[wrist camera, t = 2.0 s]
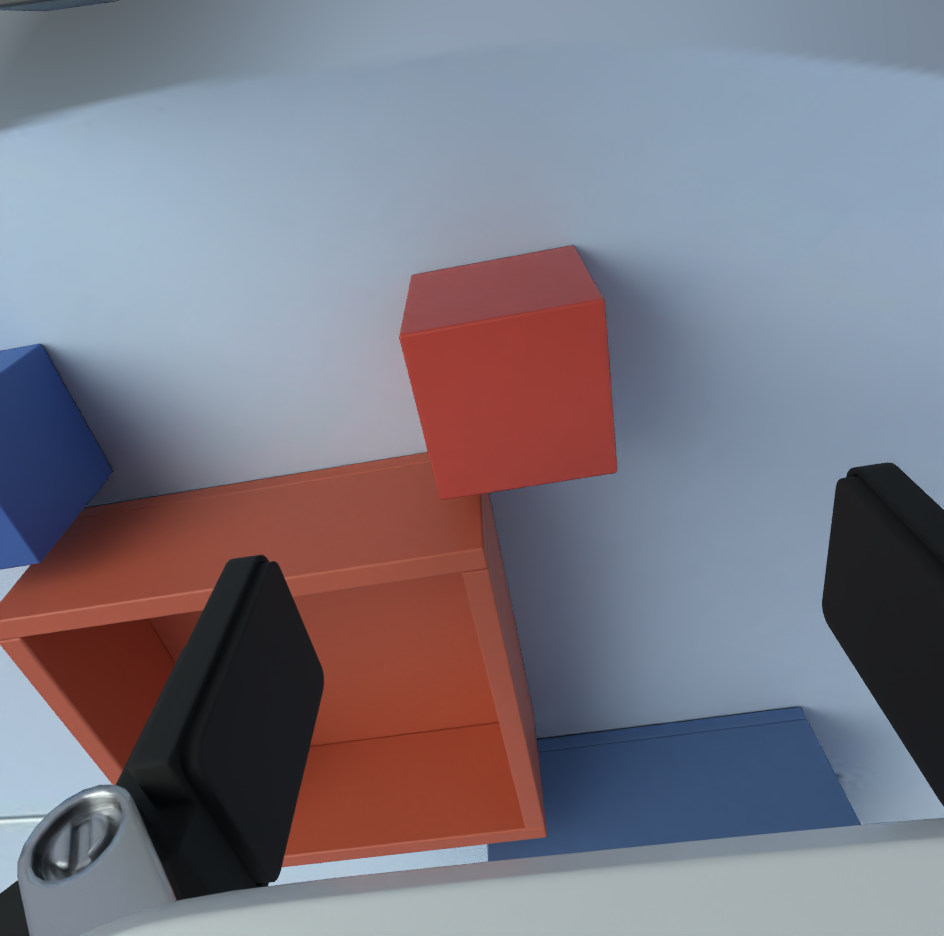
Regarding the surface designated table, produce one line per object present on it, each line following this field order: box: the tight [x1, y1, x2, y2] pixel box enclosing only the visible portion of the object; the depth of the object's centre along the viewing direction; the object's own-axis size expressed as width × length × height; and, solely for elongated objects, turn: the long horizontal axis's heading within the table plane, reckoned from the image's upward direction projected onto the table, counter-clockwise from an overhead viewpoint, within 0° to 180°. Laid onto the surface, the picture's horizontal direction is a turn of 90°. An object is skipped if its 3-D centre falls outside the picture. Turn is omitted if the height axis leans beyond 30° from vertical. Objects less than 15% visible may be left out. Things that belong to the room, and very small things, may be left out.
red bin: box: [0, 452, 547, 867], centre depth 23 cm, size 13×13×5 cm
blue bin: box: [487, 707, 861, 862], centre depth 30 cm, size 13×13×5 cm
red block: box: [399, 245, 617, 500], centre depth 17 cm, size 4×4×4 cm
